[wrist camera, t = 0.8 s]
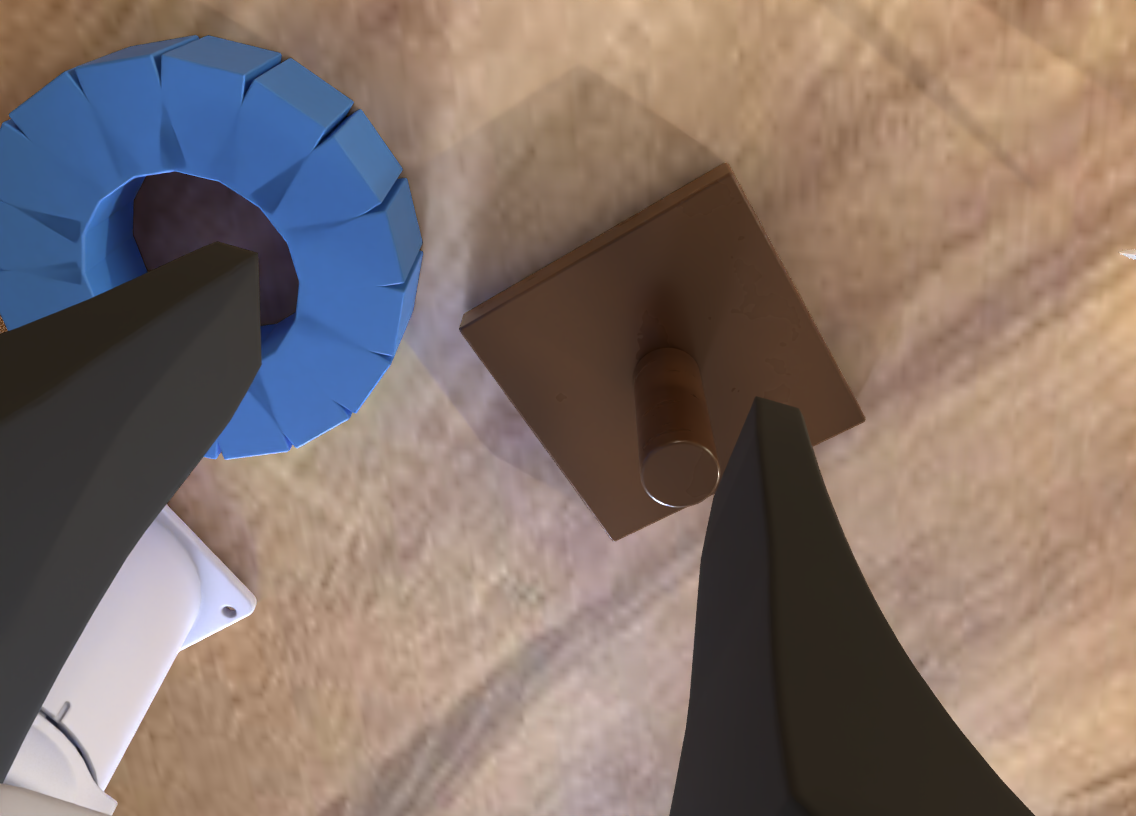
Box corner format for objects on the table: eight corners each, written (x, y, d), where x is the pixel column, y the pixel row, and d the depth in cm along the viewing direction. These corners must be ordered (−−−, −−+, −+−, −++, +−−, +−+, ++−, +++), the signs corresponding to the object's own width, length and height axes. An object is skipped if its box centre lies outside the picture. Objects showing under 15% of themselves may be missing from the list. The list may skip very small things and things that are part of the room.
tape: (214, 460, 33) (178, 516, 30) (-46, 175, 28) (-117, 209, 25) (494, 298, 30) (483, 343, 27) (251, -50, 25) (207, -40, 22)
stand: (612, 522, 33) (616, 661, 28) (462, 314, 30) (429, 422, 24) (858, 403, 31) (920, 527, 25) (726, 160, 27) (762, 238, 22)
